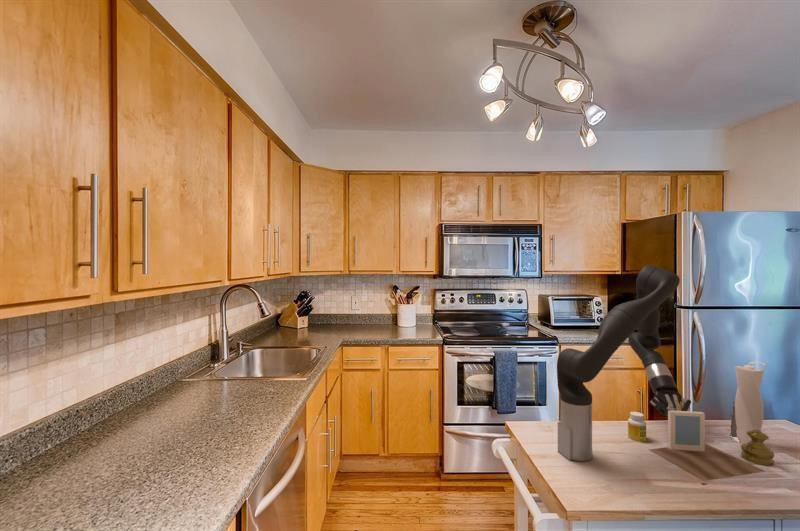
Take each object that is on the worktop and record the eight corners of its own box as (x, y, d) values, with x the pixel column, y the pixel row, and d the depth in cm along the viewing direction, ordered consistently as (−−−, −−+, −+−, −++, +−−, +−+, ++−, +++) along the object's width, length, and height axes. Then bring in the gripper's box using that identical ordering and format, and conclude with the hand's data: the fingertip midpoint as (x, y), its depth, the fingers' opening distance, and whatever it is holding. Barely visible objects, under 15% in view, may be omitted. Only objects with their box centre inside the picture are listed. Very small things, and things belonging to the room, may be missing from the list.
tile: (670, 449, 123) (670, 412, 123) (667, 447, 125) (668, 410, 125) (704, 451, 122) (704, 413, 122) (701, 449, 123) (701, 411, 123)
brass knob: (777, 472, 112) (777, 438, 112) (743, 465, 116) (744, 432, 116) (770, 461, 118) (770, 429, 118) (738, 455, 122) (738, 423, 122)
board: (703, 484, 106) (703, 480, 106) (648, 453, 123) (648, 449, 123) (765, 475, 110) (765, 471, 110) (703, 446, 128) (703, 442, 128)
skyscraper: (761, 442, 131) (762, 360, 131) (768, 452, 124) (768, 365, 124) (729, 436, 136) (730, 357, 136) (734, 445, 129) (734, 362, 129)
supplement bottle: (632, 436, 135) (632, 409, 135) (649, 442, 130) (649, 414, 130) (624, 440, 132) (624, 412, 132) (641, 447, 127) (641, 418, 127)
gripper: (676, 385, 140) (697, 433, 128) (637, 383, 142) (655, 431, 130) (685, 374, 135) (708, 423, 123) (644, 373, 137) (663, 421, 125)
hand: (680, 427), depth 126 cm, fingers closed
